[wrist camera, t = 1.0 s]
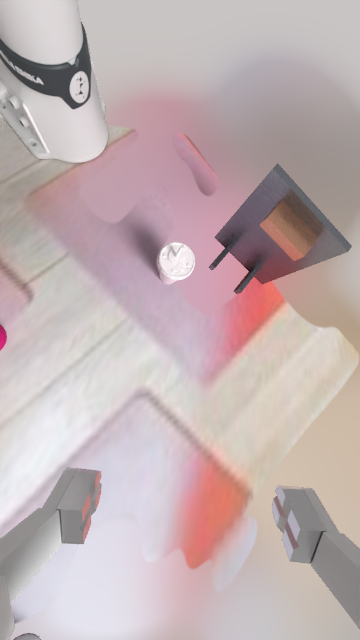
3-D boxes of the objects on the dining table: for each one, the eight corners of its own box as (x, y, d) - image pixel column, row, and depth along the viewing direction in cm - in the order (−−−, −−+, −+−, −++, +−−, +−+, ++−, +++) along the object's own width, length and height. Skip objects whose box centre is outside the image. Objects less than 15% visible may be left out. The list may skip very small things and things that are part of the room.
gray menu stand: (197, 256, 45) (245, 199, 26) (217, 233, 47) (277, 163, 27) (247, 304, 47) (326, 283, 28) (264, 280, 49) (351, 246, 29)
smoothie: (175, 257, 44) (193, 223, 31) (186, 284, 44) (210, 262, 31) (148, 267, 43) (155, 236, 29) (160, 294, 43) (173, 276, 29)
